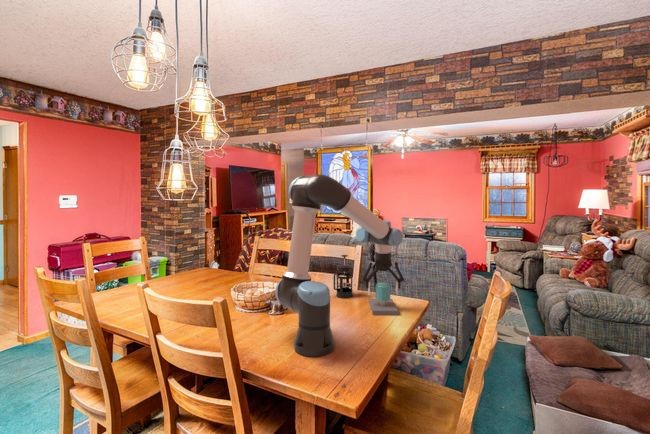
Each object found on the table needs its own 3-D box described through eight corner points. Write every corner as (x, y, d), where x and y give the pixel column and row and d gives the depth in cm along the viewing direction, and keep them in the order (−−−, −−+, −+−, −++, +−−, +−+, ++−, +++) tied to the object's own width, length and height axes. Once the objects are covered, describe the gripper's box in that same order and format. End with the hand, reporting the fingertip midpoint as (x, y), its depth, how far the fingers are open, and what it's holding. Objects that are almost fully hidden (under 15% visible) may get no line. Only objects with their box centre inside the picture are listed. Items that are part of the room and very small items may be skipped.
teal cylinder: (391, 300, 158) (391, 286, 157) (376, 300, 158) (376, 286, 158) (388, 296, 165) (389, 282, 164) (375, 296, 165) (375, 282, 165)
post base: (398, 315, 153) (398, 292, 152) (372, 315, 153) (372, 291, 152) (392, 302, 171) (392, 281, 170) (368, 302, 171) (369, 281, 170)
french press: (356, 294, 184) (356, 254, 183) (350, 299, 176) (350, 257, 174) (337, 292, 189) (337, 252, 188) (330, 296, 181) (330, 255, 180)
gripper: (407, 250, 163) (406, 292, 165) (357, 250, 164) (357, 292, 166) (410, 253, 156) (410, 297, 157) (358, 253, 157) (358, 296, 158)
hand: (382, 294), depth 161 cm, fingers open, 13 cm apart
